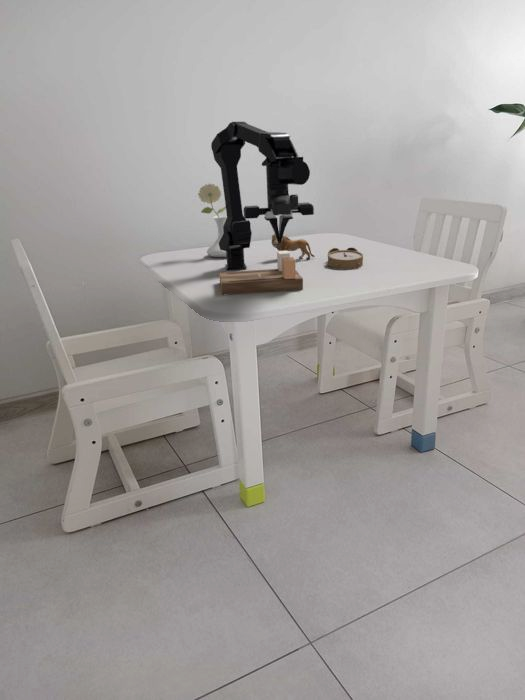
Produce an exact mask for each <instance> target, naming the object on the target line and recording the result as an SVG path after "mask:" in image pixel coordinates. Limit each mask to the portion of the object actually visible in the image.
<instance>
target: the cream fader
mask: <svg viewBox="0 0 525 700" xmlns="http://www.w3.org/2000/svg"><path fill="white" fill-rule="evenodd" d="M290 254H291V253H290V251H278V250H276V259H277V260H276V261H277V262H276V263H277V264H276V265H277V268H276V269H278V270H279V271H282V258H284V257H291V256H290Z"/></svg>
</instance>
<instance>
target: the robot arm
mask: <svg viewBox="0 0 525 700" xmlns="http://www.w3.org/2000/svg"><path fill="white" fill-rule="evenodd" d="M246 143H248V144H250V145H253V146H254V147H257V149H258V152H260V153H261V154H262V155H263V156H264V157H265V159H264V160H263V161H262V162H261V166H263V167H265V172H266V173H265V174H266V194H267V197H266V198H267V207H260V206H259V205H245V206H244V207H243V206H242V197H241V190H240V189H241V187H240V180H239V173H238V172H239V171H238V165H239V162H240V160H241V157H242V148H243V147H244V146H245V144H246ZM210 146H211V151H212V155H213V160H214V161H215V162H216V164H217V166H218V167H219V168H220V173H221V179H222V180H221V181H222V189H223V195H224V204H225V206H226V209H225V211H226V216H227V218H226V220H225V223H224V226H223V232H224V234H223V236H222V238H221V239H220V241H219V247H220V250H224V251H226V264H224V265H225V269H226V271H233V270H234V271H235V270H237V271H238V270H246V269H247V265H246V263H245V250H244V249H250V247H251V240H252V234H253V233H252V232H253V231H252V229H251V222H250V219H257V218H258V217H260V216H263V215H264V220H265V221H268V222H269V223H270V225H271V228H272V230H273V234H275V236H276V239H277V242H278V243H279V242H281V240H282V237H283V236H284V233H285V229H286V227H287V225H288V223H289V222H290V220H293V219H294V216H293V214H298V213H299V214H300V215H302V216H312V215H314V213H315V211H314V210H315V207H314V205H313V204H312V203H310V202H299V195H298V194H296V193H295V194H289V185H295V186H296V185H297V186H299V185H301V186H303V185H305V184H306V183H307V182H308V181H309V178H310V174H311V171H310V167H309V166H308V164H307V162H305V161H304V156H303V155H302V156H301V155H300V156H299V155H298V152H297V149H296V148H295V146H294V144H293V142H292V140H291V136H290V135H289V134H288V133H287V132H280V131H279V132H274V131H273V132H272V131H266V130H263V129H262V128H260V127H256V126H253V125H251V124H249V123H247V122H245V121H232V122H229V123H228V125H227V126H226V127H225V128H224V129H222V130H221V131H219V132H218V133H216V135H215V137H214V138H213V140H212V142H211V145H210ZM276 216H279V218H278V217H276ZM278 219H279V221H278ZM278 222H279V223H278Z"/></svg>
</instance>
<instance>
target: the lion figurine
mask: <svg viewBox="0 0 525 700" xmlns="http://www.w3.org/2000/svg"><path fill="white" fill-rule="evenodd" d="M271 245H272V247H274V248H275V249H277V251H288V252H295V251H298V250H299V249H300V251H301V255H299V256H298V257H299V259H303V258H304V256H305V255H306V260H307V261H309V260H311V257H312V258H315V255H314V254H313V253H312V251H311V247H310V244H309V242H308V241H307V240H305V239H304V238H303V239H302V238H299V239H294V240H292V239H290V238H289V237H288V236H286V235H283V237H282V240H281V242H279V243H278V242H277V239H276V236H275V233H273V235H271Z"/></svg>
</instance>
